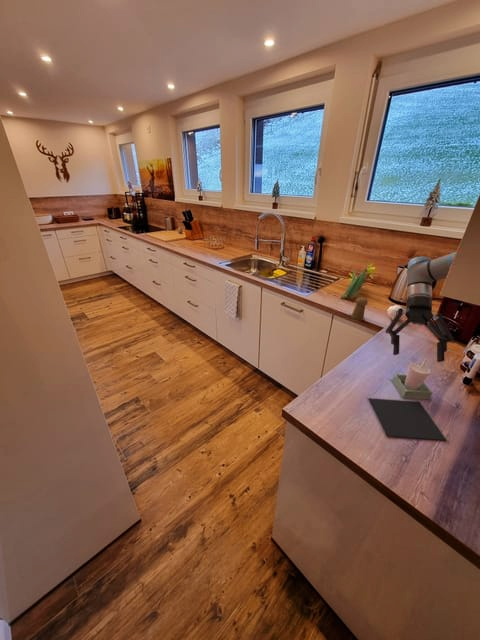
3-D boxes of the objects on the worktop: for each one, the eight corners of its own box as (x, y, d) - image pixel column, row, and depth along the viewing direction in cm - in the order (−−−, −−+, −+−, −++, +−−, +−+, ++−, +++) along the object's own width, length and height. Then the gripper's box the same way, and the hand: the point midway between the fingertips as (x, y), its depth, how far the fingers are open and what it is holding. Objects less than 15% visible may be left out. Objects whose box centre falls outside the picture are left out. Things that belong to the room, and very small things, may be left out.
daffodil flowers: (328, 296, 162) (349, 268, 181) (347, 311, 161) (366, 282, 180) (346, 280, 148) (367, 252, 167) (366, 297, 147) (385, 267, 166)
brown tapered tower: (348, 317, 136) (354, 298, 131) (354, 314, 140) (359, 295, 134) (360, 321, 132) (365, 302, 127) (365, 318, 136) (371, 298, 130)
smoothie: (414, 399, 87) (430, 365, 80) (395, 387, 91) (409, 354, 84) (424, 391, 90) (440, 359, 83) (405, 380, 94) (419, 348, 87)
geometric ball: (396, 325, 136) (409, 318, 129) (383, 318, 136) (395, 312, 129) (396, 313, 140) (408, 306, 133) (383, 307, 139) (395, 299, 132)
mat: (418, 402, 85) (419, 401, 85) (445, 440, 73) (446, 439, 73) (368, 399, 86) (369, 398, 86) (387, 436, 74) (387, 435, 73)
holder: (415, 382, 94) (418, 375, 92) (429, 399, 87) (432, 392, 85) (391, 380, 94) (394, 373, 93) (403, 397, 87) (406, 391, 85)
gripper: (451, 307, 94) (453, 365, 89) (377, 298, 99) (374, 353, 94) (465, 299, 87) (468, 362, 82) (385, 290, 92) (382, 349, 87)
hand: (418, 357), depth 88 cm, fingers open, 13 cm apart
